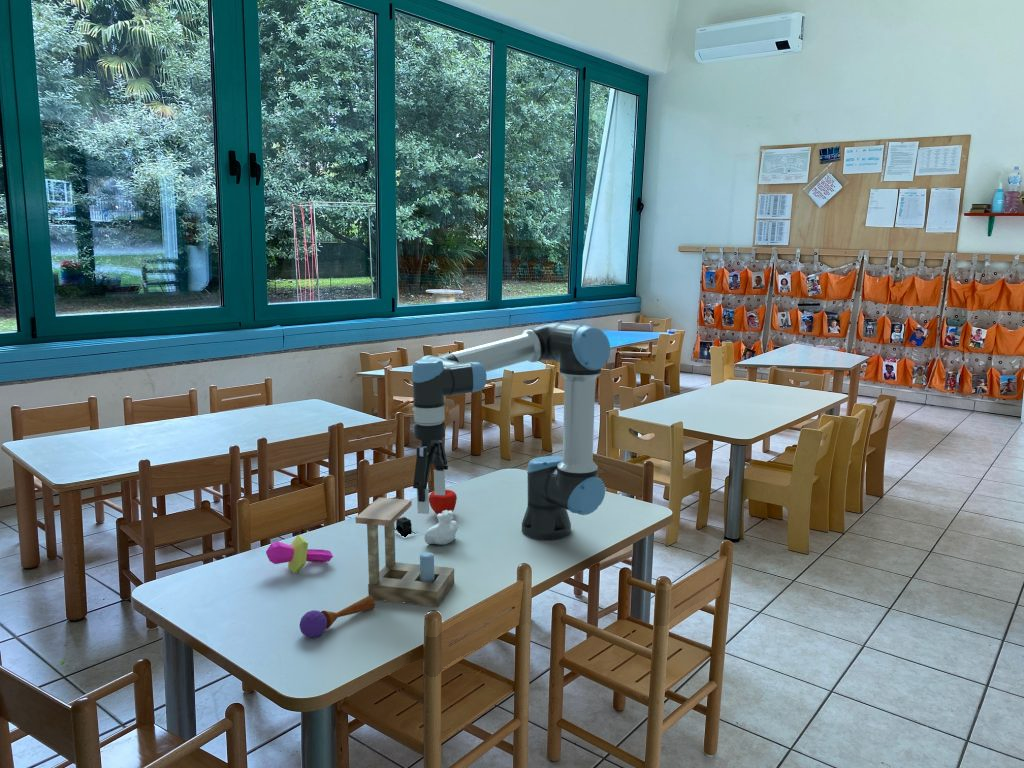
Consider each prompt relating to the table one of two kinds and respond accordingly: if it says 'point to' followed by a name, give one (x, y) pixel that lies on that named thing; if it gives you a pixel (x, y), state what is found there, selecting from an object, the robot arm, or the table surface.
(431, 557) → the peg
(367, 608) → the kendama
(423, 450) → the robot arm
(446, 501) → the apple
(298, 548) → the toy
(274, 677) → the table surface
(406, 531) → the black rounded block
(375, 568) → the awning
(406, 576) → the socket board
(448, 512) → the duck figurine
